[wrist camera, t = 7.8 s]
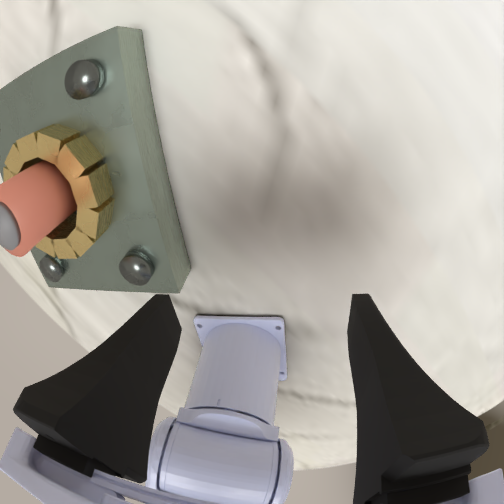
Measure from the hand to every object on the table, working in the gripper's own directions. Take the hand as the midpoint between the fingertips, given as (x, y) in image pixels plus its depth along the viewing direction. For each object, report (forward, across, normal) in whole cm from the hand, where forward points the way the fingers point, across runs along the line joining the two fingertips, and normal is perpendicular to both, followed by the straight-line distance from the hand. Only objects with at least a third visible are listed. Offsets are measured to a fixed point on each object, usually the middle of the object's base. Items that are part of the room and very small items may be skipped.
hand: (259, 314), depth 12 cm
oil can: (+8, +14, -4) cm, 17 cm away
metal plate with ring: (+10, +14, -4) cm, 18 cm away
